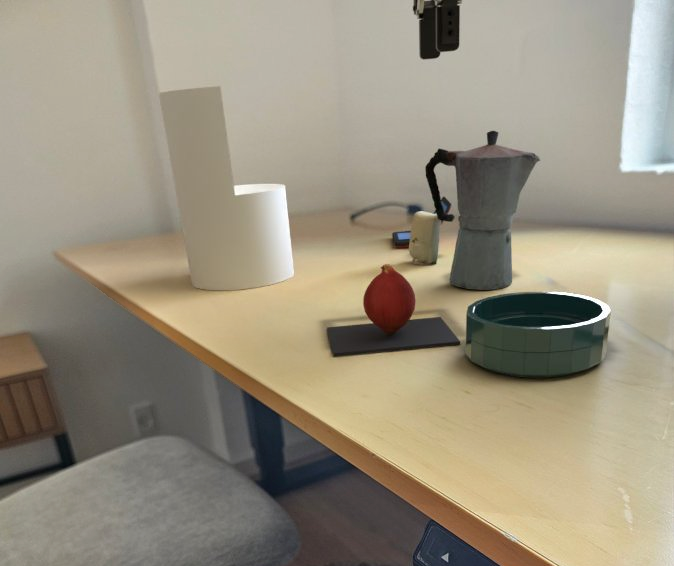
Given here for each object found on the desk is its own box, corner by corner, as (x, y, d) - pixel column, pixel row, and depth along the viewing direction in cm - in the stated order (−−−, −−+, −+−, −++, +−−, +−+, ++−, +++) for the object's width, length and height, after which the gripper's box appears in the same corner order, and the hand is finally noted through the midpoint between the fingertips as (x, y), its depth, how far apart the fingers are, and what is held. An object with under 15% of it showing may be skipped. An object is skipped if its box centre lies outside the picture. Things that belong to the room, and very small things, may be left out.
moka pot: (530, 292, 89) (540, 128, 80) (418, 291, 94) (415, 137, 84) (535, 276, 97) (544, 125, 88) (431, 276, 102) (430, 133, 92)
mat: (440, 319, 81) (440, 316, 80) (460, 344, 72) (460, 341, 71) (327, 330, 80) (327, 327, 80) (333, 356, 71) (333, 353, 71)
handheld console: (391, 237, 135) (390, 199, 131) (444, 234, 134) (444, 195, 131) (394, 249, 124) (393, 207, 120) (452, 245, 123) (452, 203, 120)
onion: (382, 324, 79) (380, 256, 76) (425, 329, 76) (424, 259, 72) (356, 338, 75) (351, 267, 72) (399, 344, 72) (397, 270, 68)
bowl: (571, 332, 73) (576, 286, 70) (629, 373, 61) (636, 321, 59) (452, 343, 72) (453, 298, 70) (486, 387, 60) (488, 335, 58)
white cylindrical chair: (192, 295, 102) (156, 90, 89) (191, 273, 117) (160, 96, 104) (301, 282, 104) (282, 81, 92) (286, 262, 120) (268, 87, 107)
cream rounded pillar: (447, 259, 112) (447, 210, 108) (436, 266, 108) (436, 215, 104) (415, 258, 114) (414, 210, 111) (404, 265, 110) (403, 215, 107)
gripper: (499, -180, 55) (493, 45, 62) (458, -124, 68) (457, 58, 75) (411, -174, 55) (415, 52, 62) (386, -119, 68) (392, 63, 75)
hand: (438, 55), depth 69 cm, fingers open, 8 cm apart
